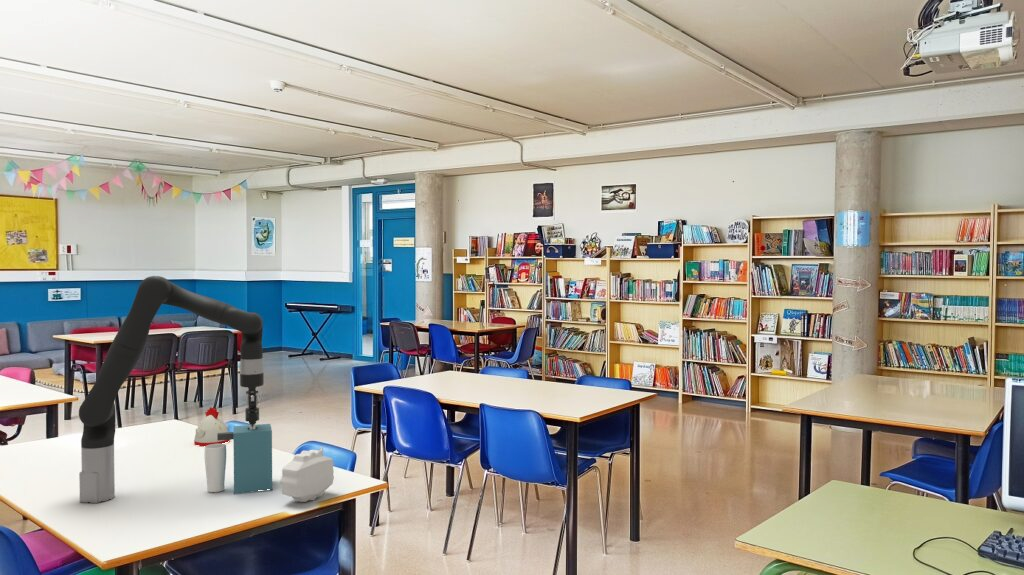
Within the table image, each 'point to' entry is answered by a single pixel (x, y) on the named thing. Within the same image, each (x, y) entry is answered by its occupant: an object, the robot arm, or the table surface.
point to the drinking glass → (215, 466)
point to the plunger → (252, 426)
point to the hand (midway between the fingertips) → (252, 422)
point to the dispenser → (251, 457)
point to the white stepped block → (307, 475)
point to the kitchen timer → (210, 429)
